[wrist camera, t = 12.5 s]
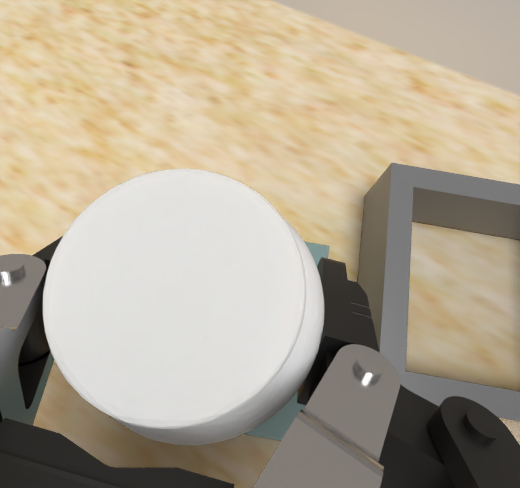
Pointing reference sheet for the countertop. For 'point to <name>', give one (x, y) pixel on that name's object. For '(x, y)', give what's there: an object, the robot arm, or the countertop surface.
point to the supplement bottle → (184, 307)
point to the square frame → (398, 261)
